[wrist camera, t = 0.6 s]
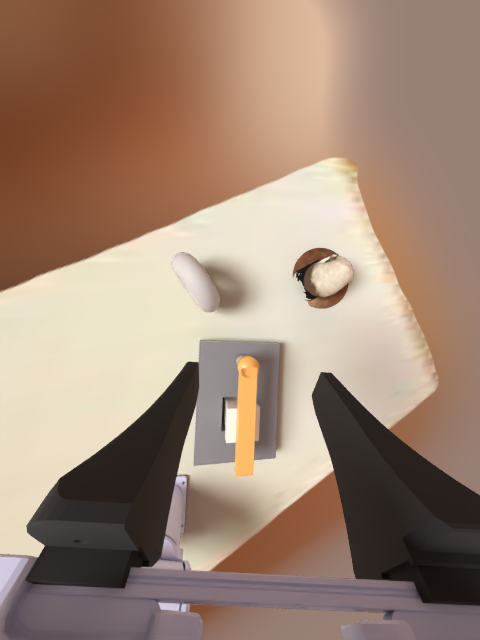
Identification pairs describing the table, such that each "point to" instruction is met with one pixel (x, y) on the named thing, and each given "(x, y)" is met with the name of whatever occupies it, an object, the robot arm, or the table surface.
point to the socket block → (223, 382)
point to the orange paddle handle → (246, 415)
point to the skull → (323, 276)
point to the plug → (231, 419)
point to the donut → (196, 281)
